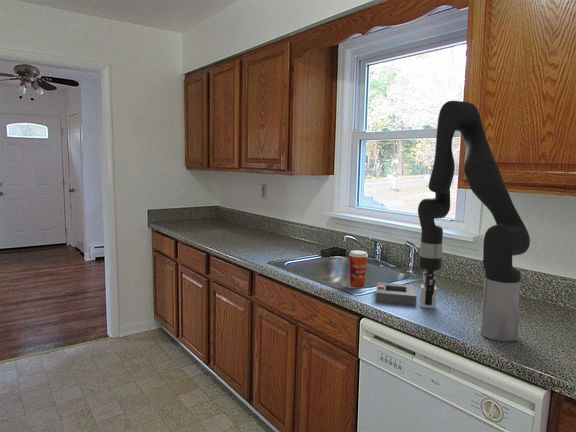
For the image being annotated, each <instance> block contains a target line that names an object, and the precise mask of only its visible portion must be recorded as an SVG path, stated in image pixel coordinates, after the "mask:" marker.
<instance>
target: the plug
mask: <svg viewBox="0 0 576 432" xmlns="http://www.w3.org/2000/svg"><path fill="white" fill-rule="evenodd" d="M426 285H427V284H426ZM425 290H426V288H425V287H424V284H420V297H419V306H420V308H427V309H436V306H437V305H436V304H437V293H438V292H437V291H438V288H437V285H435V288H434V294H433V295H432V305H426V304H425V295H426V294H425ZM428 291H431V289H428Z"/></svg>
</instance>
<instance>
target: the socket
mask: <svg viewBox="0 0 576 432" xmlns="http://www.w3.org/2000/svg"><path fill="white" fill-rule="evenodd" d="M375 292H376V293H375V302H376V301H378V302H377V303H382V302H385V303H384V304H393V303H395V304H394V305H396V304H397V305H406V306H415V307H416V306H417V292H416V286H415V285H414V284H405V283H392V282H379V281H377V283H376V291H375Z"/></svg>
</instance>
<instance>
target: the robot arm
mask: <svg viewBox="0 0 576 432" xmlns="http://www.w3.org/2000/svg"><path fill="white" fill-rule="evenodd" d="M457 131H458V132H459V133H460V134H461V136H462V138H463V141H464V143H465V144H464V145H465V148H466V149H465V150H466V151H465V157H464V162H463V170H464V175H465V178H466V179H467V180H466V181H467V182H468V185H469V188H470V190H471V191H472V193H473V194H474V196H475V197H477V199H478V200H479V201H480V202H481V203H482V204H483V205H484V206H485V207H486V208H487V209H488V210H489V212H490V213H491V215H492V217H493V219H494V222H495V224H494V225H491V226H490V227H488V228H487V230H486V232H485V234H484V237H483V242H482V243H483V245H482V247H483V248H482V249H483V250H482V251H483V253H482V265H483V266H482V267H483V270H484V273H485V274H484V285H483V295H482V296H483V299H482V308H481V311H482V312H481V321H480V322H481V323H480V334H481V336H483V337H485V338H487V339H489V340H492V341H497V342H513V341H516V342H518V337H519V336H518V335H519V325H520V316H521V315H520V314H521V309H520V307H519V302H520V301H519V298H520V288H521V278H522V273H521V270H519V269H517V268H515V267H514V265H513V257H514V256H520V255H523V254H524V253H526V252H527V251H528V249H529V247H530V244H531V239H530V235H529V231H528V229H527V227H526V226H525V223H524V222H523V220H522V218H521V216H520V214H519V212H518V210H517V209H516V207H515V205H514V203H513V200H512V197H511V196H510V194H509V191H508V189H507V187H506V185H505V182H504V180H503V176H502V173H501V171H500V168H499V165H498V163H497V161H496V159H495V157H494V155H493V153H492V149H491V147H490V144H489V142H488V139H487V136H486V133H485V130H484V126H483V122H482V117H481V115H480V111H479V110H478V107H476V105H475V104H474V103H471V102H469V101H460V100H449V101H446V102H445V103H444V104H443V105H441V107H440V110H439V114H438V119H437V128H436V137H435V138H436V139H435V152H434V161H433V165H432V169H431V174H430V177H429V182H428V189H429V191H431V192H433V193H435V197H434V198H433V197H432V198H430V197H429V198H427V197H426V198H423V199H422V200H421V201H420V202H419V204H418V207H417V214H418V218H419V219H418V220H419V223H420V229H421V236H420V238H421V239H420V245H419V246H420V247H419V257H418V258H419V259H418V268H419V269H421V270H424V271H423V273H422V276H423V278H422V279H423V281H422V282H423V284H422V285H424V287H425V288H426V290H425V294H426V295H425V304H426V305H432V295H433V294H434V288H435V286H436V280H437V275H436V273H435V272H436V271H440V270H442V266H443V263H442V262H443V238H444V237H443V235H444V229H443V227H442V226H440V225H437V224H436V223H435V219H436V220H437V219H443V218H445V217H447V215H448V214H449V212H450V209H451V187H452V183H453V179H454V176H455V168H456V167H455V165H456V164H455V159H454V154H453V139H454V135H455V133H456V132H457ZM426 284H427V285H426ZM428 289H431V291H428Z"/></svg>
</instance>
